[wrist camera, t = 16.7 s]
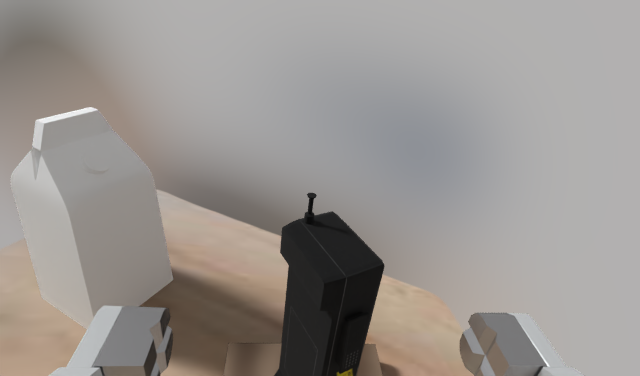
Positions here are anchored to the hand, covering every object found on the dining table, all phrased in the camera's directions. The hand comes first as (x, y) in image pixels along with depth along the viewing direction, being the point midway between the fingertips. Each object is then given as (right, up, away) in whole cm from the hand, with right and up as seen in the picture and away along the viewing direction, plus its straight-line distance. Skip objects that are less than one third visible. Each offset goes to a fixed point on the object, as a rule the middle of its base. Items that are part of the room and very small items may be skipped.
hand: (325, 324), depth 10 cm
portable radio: (-1, -20, +28) cm, 34 cm away
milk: (-30, -11, +43) cm, 53 cm away
